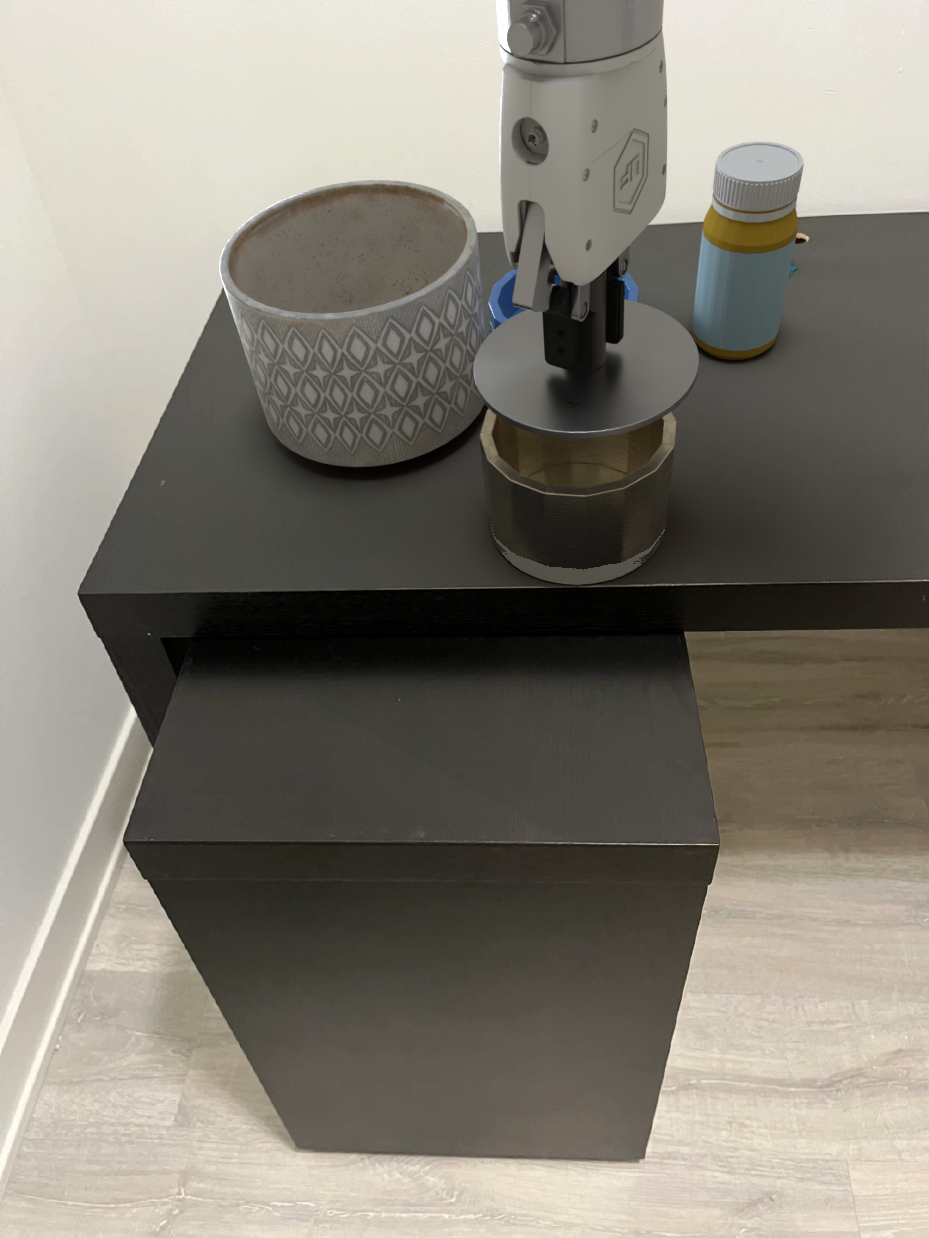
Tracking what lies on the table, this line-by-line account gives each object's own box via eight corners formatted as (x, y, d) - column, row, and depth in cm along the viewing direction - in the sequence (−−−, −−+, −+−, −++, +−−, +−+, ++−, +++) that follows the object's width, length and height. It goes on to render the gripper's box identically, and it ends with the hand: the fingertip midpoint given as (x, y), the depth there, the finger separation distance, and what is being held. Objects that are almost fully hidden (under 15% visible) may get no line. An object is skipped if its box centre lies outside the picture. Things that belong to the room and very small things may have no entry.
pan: (660, 317, 83) (663, 276, 80) (592, 397, 77) (592, 355, 74) (538, 284, 88) (537, 243, 85) (465, 356, 82) (461, 316, 79)
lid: (734, 342, 59) (748, 234, 53) (632, 475, 52) (636, 368, 47) (545, 293, 64) (540, 191, 59) (432, 407, 58) (415, 305, 52)
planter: (317, 330, 87) (279, 174, 75) (514, 348, 82) (505, 185, 71) (233, 466, 76) (173, 307, 64) (455, 495, 71) (433, 330, 60)
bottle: (682, 356, 79) (700, 179, 68) (701, 309, 83) (722, 135, 71) (766, 369, 77) (800, 189, 65) (783, 321, 81) (817, 143, 69)
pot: (695, 495, 69) (708, 400, 62) (613, 611, 63) (618, 521, 56) (546, 442, 74) (543, 350, 67) (456, 545, 68) (443, 455, 61)
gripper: (562, 93, 37) (572, 450, 52) (731, -46, 45) (700, 296, 59) (410, 70, 41) (458, 412, 55) (592, -57, 48) (594, 271, 63)
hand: (584, 349), depth 57 cm, fingers closed on lid, 2 cm apart
